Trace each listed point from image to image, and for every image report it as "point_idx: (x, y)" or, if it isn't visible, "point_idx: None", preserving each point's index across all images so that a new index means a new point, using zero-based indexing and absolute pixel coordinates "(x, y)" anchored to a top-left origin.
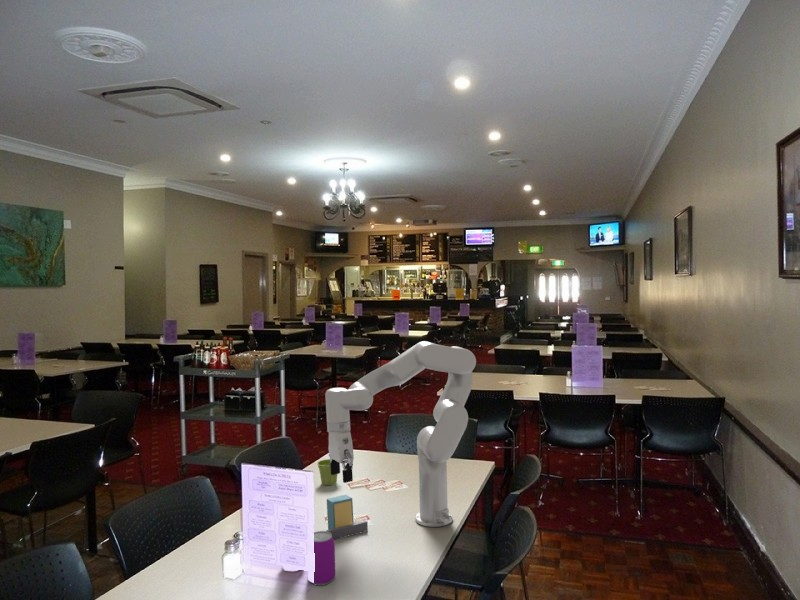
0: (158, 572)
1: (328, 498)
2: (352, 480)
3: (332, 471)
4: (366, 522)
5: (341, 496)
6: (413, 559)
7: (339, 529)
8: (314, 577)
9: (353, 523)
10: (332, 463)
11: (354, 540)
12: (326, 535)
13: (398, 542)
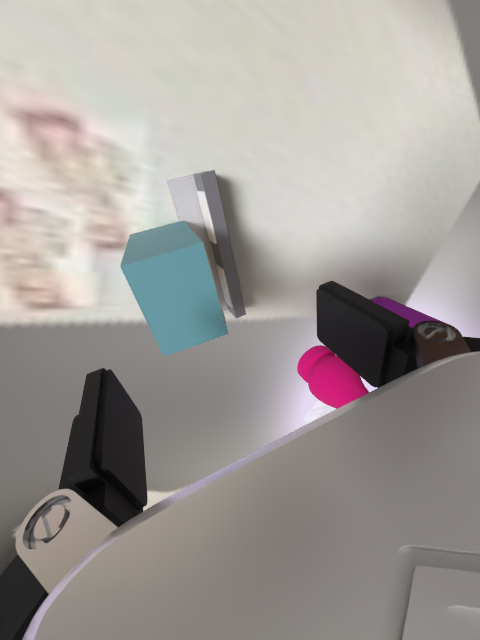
0: None
1: (161, 349)
2: (331, 282)
3: (141, 434)
4: (215, 175)
5: (150, 292)
6: (416, 96)
7: (237, 280)
8: None
9: (185, 223)
10: (137, 505)
11: (256, 233)
12: None
13: (322, 89)
